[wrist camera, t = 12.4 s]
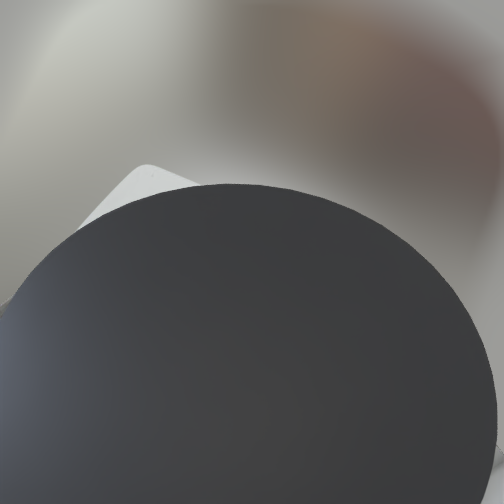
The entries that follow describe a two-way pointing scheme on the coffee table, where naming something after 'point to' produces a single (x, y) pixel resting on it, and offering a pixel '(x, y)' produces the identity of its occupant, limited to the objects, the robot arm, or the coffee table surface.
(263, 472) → the tapered grey cylinder
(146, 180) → the coffee table surface
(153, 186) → the coffee table surface
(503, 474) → the robot arm
